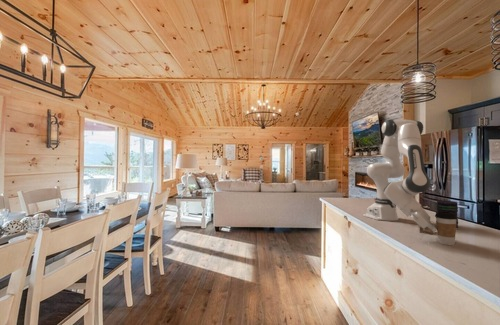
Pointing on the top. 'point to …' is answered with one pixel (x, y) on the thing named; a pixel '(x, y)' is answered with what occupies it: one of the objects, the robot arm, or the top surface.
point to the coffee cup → (446, 227)
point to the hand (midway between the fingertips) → (435, 230)
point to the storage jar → (448, 208)
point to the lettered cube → (426, 229)
